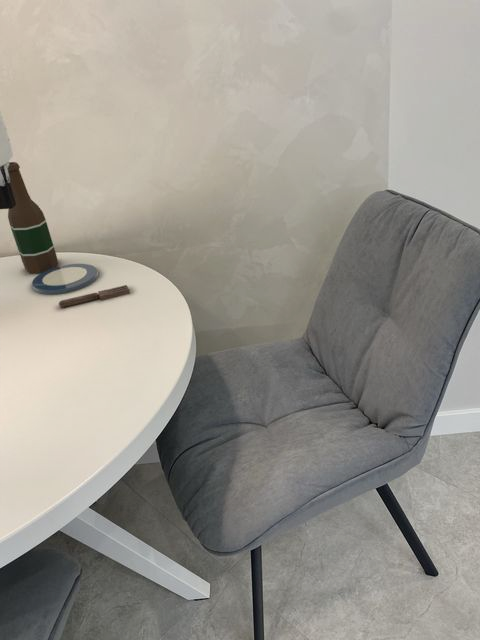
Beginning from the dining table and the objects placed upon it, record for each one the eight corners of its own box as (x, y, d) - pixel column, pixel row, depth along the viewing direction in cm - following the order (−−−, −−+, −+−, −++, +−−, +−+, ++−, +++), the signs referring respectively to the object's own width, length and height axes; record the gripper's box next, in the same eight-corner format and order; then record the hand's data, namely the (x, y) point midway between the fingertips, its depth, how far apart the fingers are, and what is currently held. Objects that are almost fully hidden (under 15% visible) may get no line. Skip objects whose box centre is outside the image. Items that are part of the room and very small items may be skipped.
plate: (24, 297, 115) (23, 292, 115) (44, 270, 127) (42, 266, 127) (90, 291, 115) (89, 286, 115) (103, 264, 127) (102, 260, 127)
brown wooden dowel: (60, 310, 109) (58, 304, 108) (59, 305, 111) (57, 299, 110) (129, 293, 113) (128, 287, 112) (127, 288, 115) (126, 282, 114)
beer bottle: (44, 259, 133) (12, 158, 121) (66, 263, 130) (35, 159, 117) (18, 271, 128) (-19, 167, 115) (40, 276, 124) (5, 169, 112)
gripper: (-34, 88, 92) (0, 196, 102) (-76, 101, 80) (-33, 223, 89) (11, 85, 92) (40, 194, 102) (-24, 98, 80) (12, 220, 89)
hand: (5, 207), depth 96 cm, fingers closed
